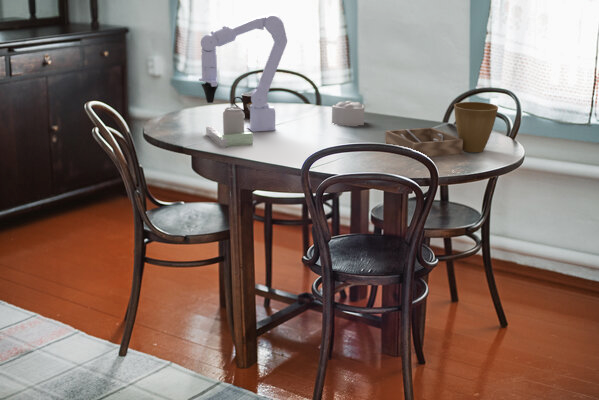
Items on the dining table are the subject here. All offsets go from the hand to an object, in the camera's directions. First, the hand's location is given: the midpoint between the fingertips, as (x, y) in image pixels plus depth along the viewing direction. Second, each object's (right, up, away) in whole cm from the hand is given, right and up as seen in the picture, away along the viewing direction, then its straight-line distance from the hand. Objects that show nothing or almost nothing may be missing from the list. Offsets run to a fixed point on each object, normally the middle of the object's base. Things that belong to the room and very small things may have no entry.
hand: (210, 102), depth 292 cm
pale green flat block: (+10, -15, -14) cm, 23 cm away
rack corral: (+78, -19, -23) cm, 84 cm away
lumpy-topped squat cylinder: (+54, -6, +18) cm, 57 cm away
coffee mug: (+13, -3, +26) cm, 29 cm away
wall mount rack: (+78, -19, -22) cm, 83 cm away
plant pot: (+95, -20, -24) cm, 100 cm away
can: (+10, -16, -15) cm, 24 cm away
